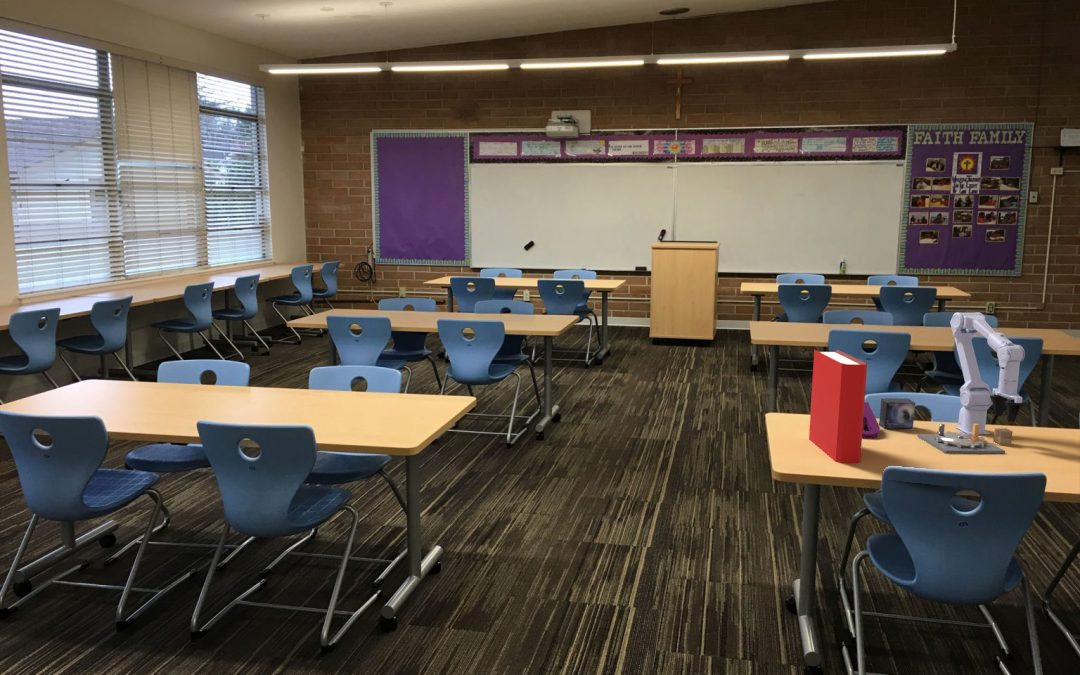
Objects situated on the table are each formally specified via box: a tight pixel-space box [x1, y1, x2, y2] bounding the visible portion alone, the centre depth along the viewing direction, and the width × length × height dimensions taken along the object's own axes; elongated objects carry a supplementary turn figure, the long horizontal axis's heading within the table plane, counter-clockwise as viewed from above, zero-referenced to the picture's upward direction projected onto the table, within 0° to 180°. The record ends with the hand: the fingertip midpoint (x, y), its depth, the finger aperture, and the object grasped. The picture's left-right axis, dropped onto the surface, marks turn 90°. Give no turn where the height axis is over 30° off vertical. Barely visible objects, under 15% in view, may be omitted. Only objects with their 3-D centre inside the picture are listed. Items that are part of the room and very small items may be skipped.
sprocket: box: [934, 423, 988, 448], centre depth 292 cm, size 16×16×5 cm
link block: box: [992, 427, 1014, 446], centre depth 295 cm, size 4×4×5 cm
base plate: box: [917, 424, 1006, 455], centre depth 292 cm, size 20×20×6 cm
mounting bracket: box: [862, 401, 881, 439], centre depth 309 cm, size 10×8×18 cm
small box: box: [878, 397, 916, 430], centre depth 314 cm, size 11×6×10 cm, turn 88°
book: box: [808, 349, 868, 464], centre depth 282 cm, size 27×8×32 cm, turn 1°
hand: (1004, 418), depth 294 cm, fingers open, 7 cm apart
